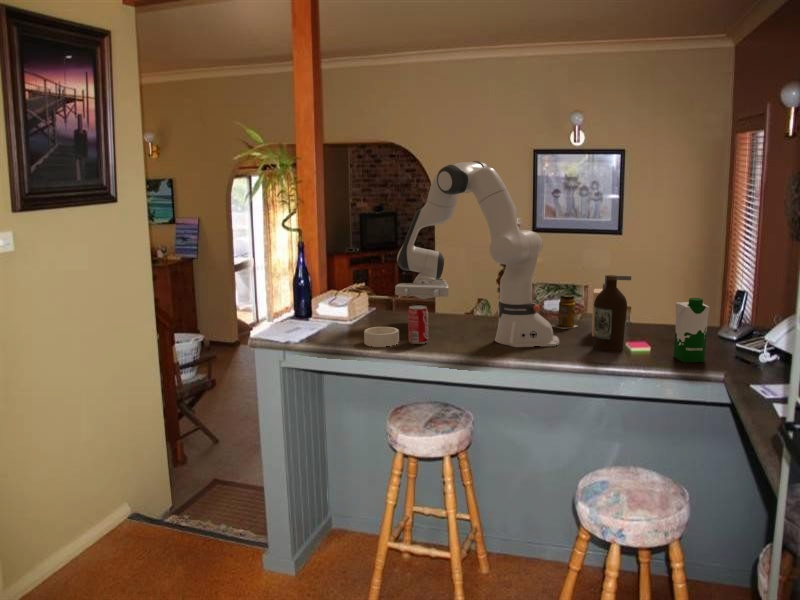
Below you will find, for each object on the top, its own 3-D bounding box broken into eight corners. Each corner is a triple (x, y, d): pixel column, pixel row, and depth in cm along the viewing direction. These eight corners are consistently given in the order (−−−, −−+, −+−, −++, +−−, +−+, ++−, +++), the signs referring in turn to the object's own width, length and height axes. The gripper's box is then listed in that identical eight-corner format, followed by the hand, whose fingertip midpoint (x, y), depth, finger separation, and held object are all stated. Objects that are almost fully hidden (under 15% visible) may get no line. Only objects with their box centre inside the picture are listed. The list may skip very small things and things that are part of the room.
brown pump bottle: (605, 342, 248) (608, 272, 243) (631, 348, 239) (635, 275, 235) (585, 347, 242) (588, 275, 237) (611, 354, 233) (615, 279, 228)
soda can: (426, 345, 247) (426, 309, 244) (406, 345, 248) (406, 308, 246) (430, 340, 254) (429, 305, 251) (410, 340, 255) (410, 304, 253)
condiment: (579, 326, 274) (580, 295, 271) (564, 329, 269) (565, 298, 266) (564, 323, 279) (565, 293, 277) (549, 326, 274) (550, 295, 272)
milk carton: (681, 363, 222) (685, 300, 218) (669, 355, 230) (673, 295, 227) (708, 362, 222) (713, 300, 218) (695, 355, 231) (700, 294, 227)
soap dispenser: (591, 336, 257) (594, 276, 253) (592, 331, 265) (594, 273, 261) (628, 338, 254) (631, 277, 250) (628, 333, 262) (631, 274, 258)
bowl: (400, 339, 257) (400, 326, 256) (396, 347, 245) (396, 334, 244) (367, 338, 258) (367, 326, 257) (362, 346, 246) (361, 334, 245)
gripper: (396, 278, 274) (392, 284, 261) (449, 279, 272) (447, 286, 258) (396, 294, 275) (392, 301, 262) (449, 295, 273) (447, 303, 260)
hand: (420, 293), depth 260 cm, fingers open, 8 cm apart
